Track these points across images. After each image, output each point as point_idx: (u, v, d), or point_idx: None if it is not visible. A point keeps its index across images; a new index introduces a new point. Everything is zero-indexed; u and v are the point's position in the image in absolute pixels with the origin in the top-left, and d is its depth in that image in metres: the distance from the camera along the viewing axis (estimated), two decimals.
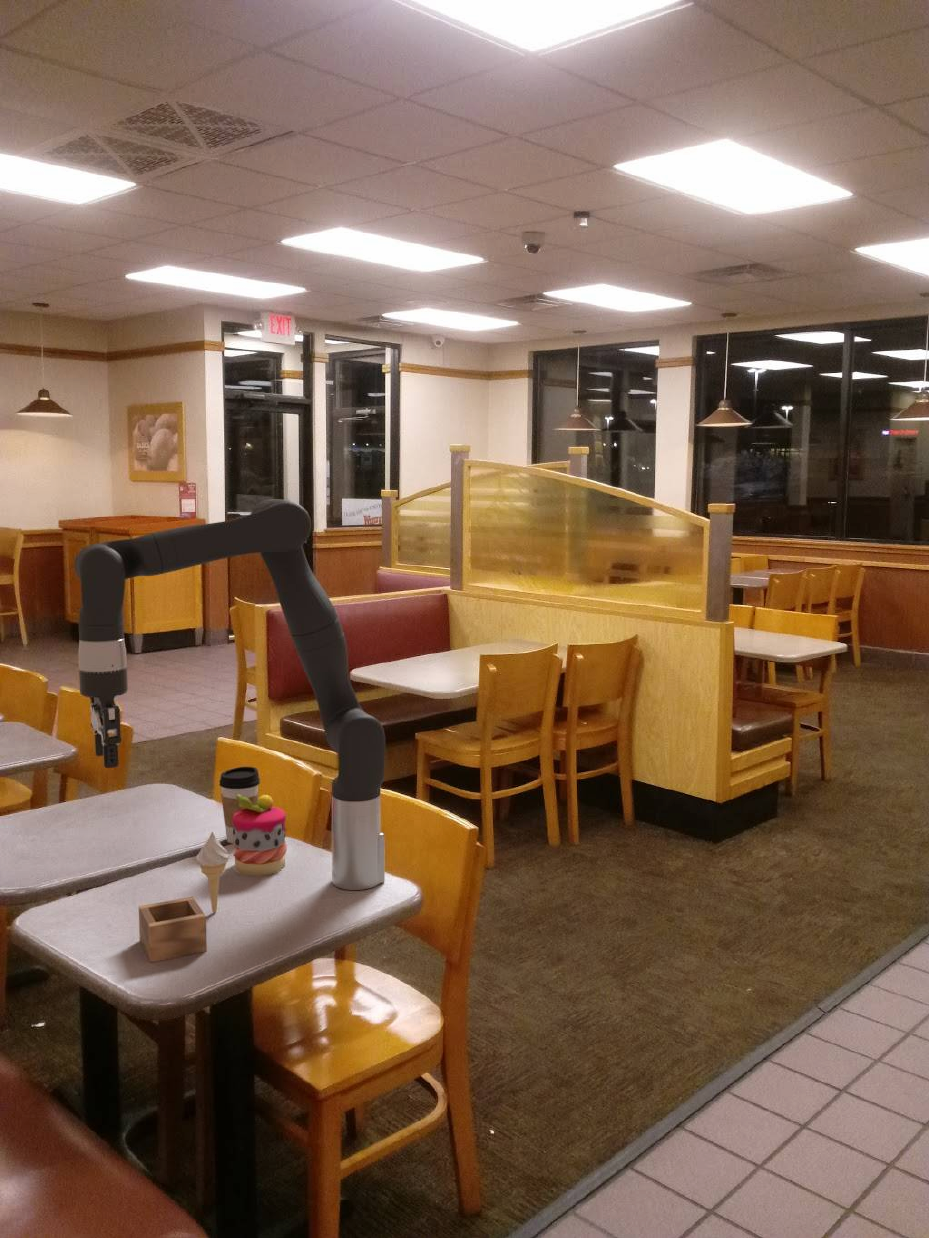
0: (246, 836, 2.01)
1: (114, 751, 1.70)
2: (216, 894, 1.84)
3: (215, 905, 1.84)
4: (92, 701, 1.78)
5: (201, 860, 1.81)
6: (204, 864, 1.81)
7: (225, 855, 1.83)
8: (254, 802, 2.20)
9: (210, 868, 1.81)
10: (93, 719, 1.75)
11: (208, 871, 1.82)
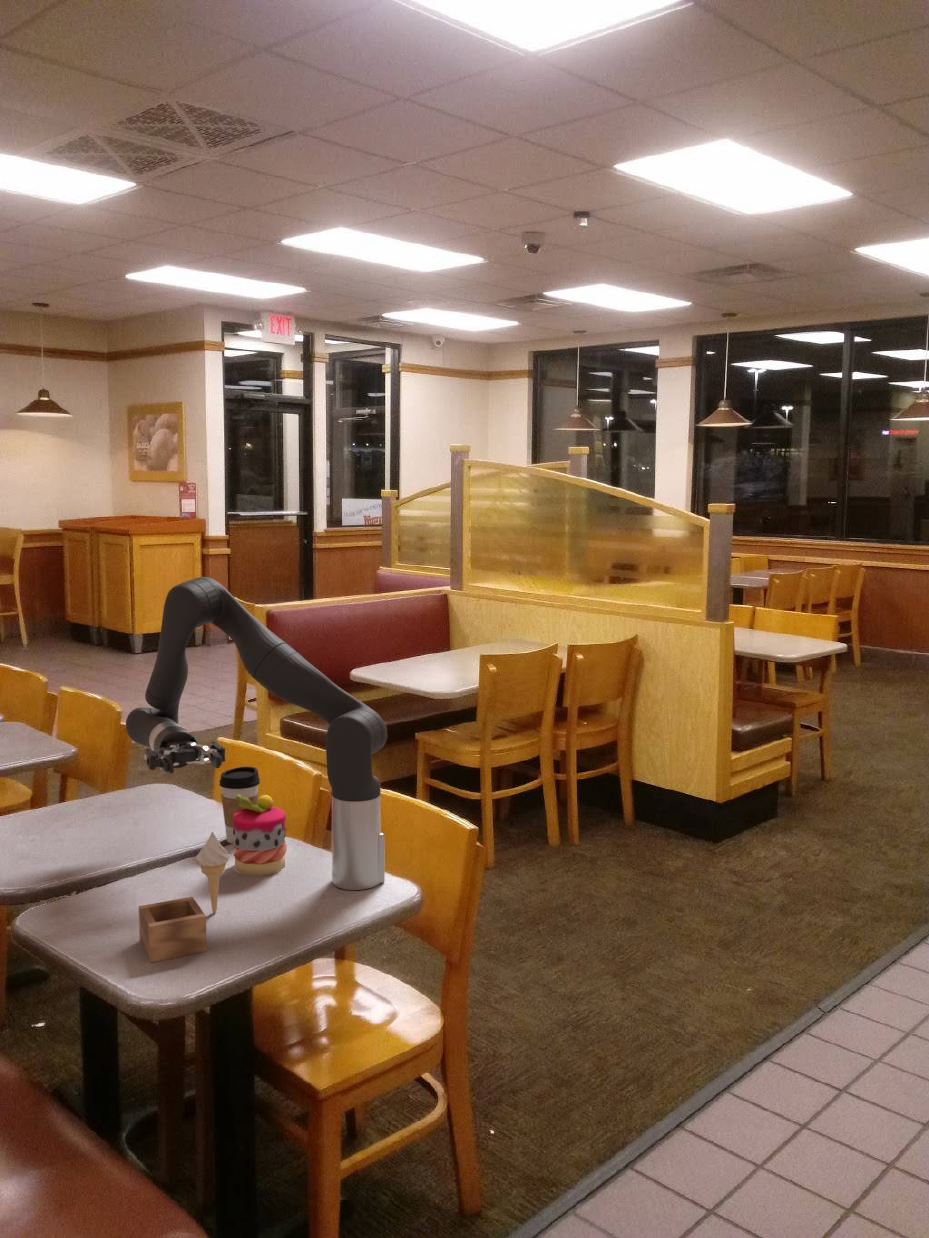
0: (246, 836, 2.01)
1: (162, 762, 1.90)
2: (216, 894, 1.84)
3: (215, 905, 1.84)
4: None
5: (201, 860, 1.81)
6: (204, 864, 1.81)
7: (225, 855, 1.83)
8: (254, 802, 2.20)
9: (210, 868, 1.81)
10: (196, 762, 1.98)
11: (208, 871, 1.82)
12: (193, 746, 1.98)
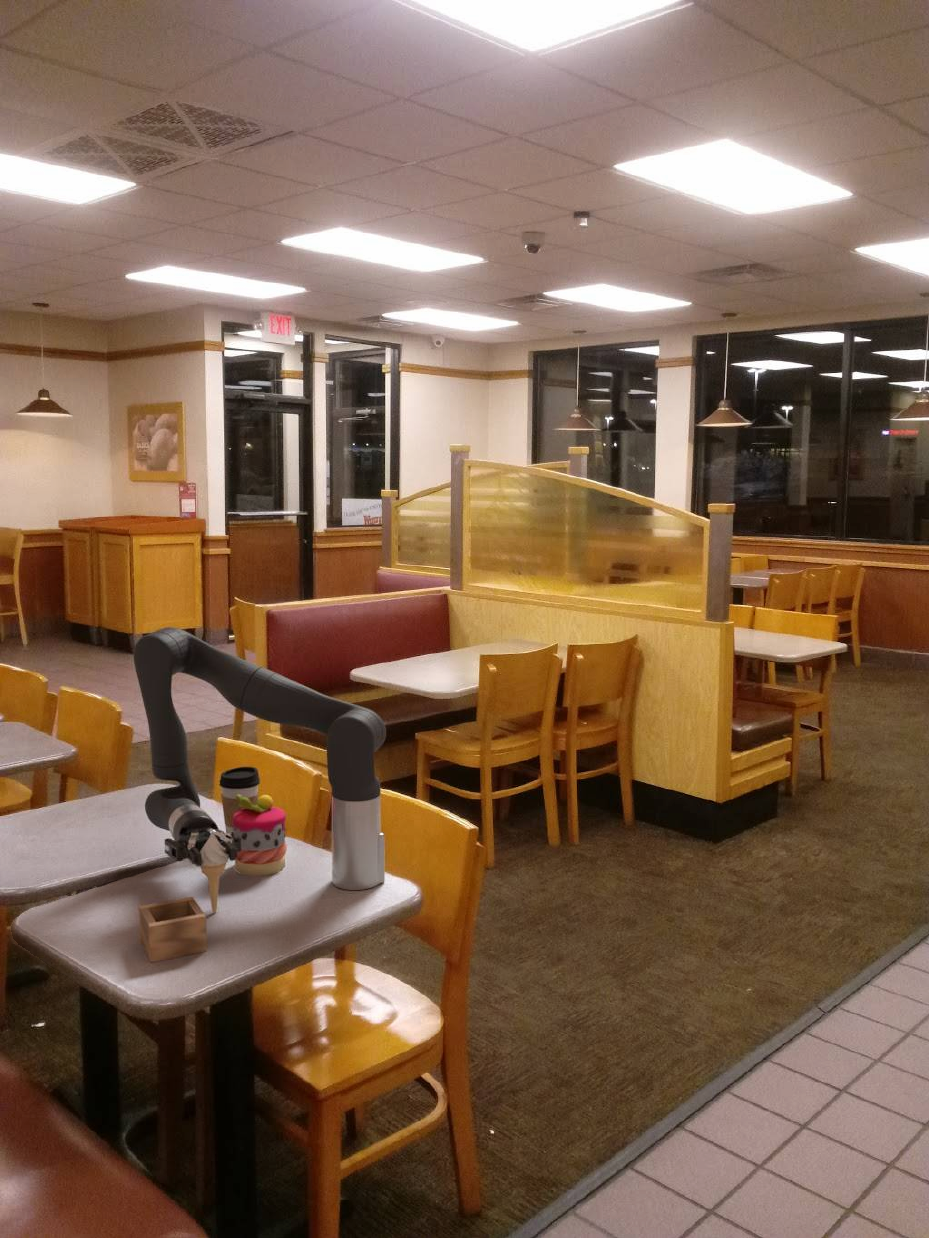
0: (246, 836, 2.01)
1: (189, 853, 1.82)
2: (216, 894, 1.84)
3: (215, 905, 1.84)
4: None
5: None
6: (204, 864, 1.81)
7: (225, 855, 1.83)
8: (254, 802, 2.20)
9: (210, 868, 1.81)
10: None
11: (208, 871, 1.82)
12: None
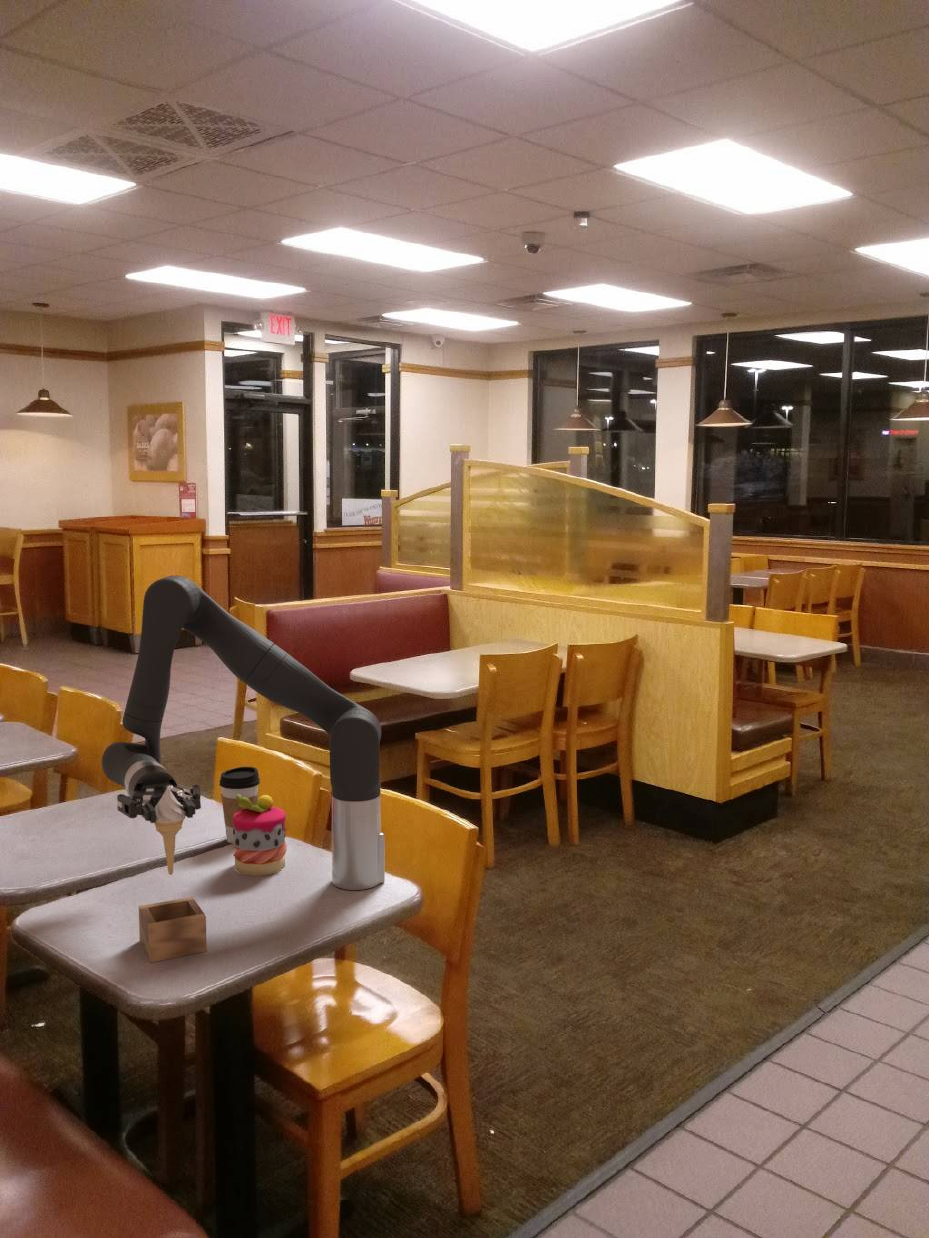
0: (246, 836, 2.01)
1: (143, 810, 1.67)
2: (172, 854, 1.69)
3: (171, 866, 1.70)
4: None
5: None
6: (158, 821, 1.66)
7: (182, 812, 1.68)
8: (254, 802, 2.20)
9: (165, 826, 1.67)
10: None
11: (163, 829, 1.67)
12: None
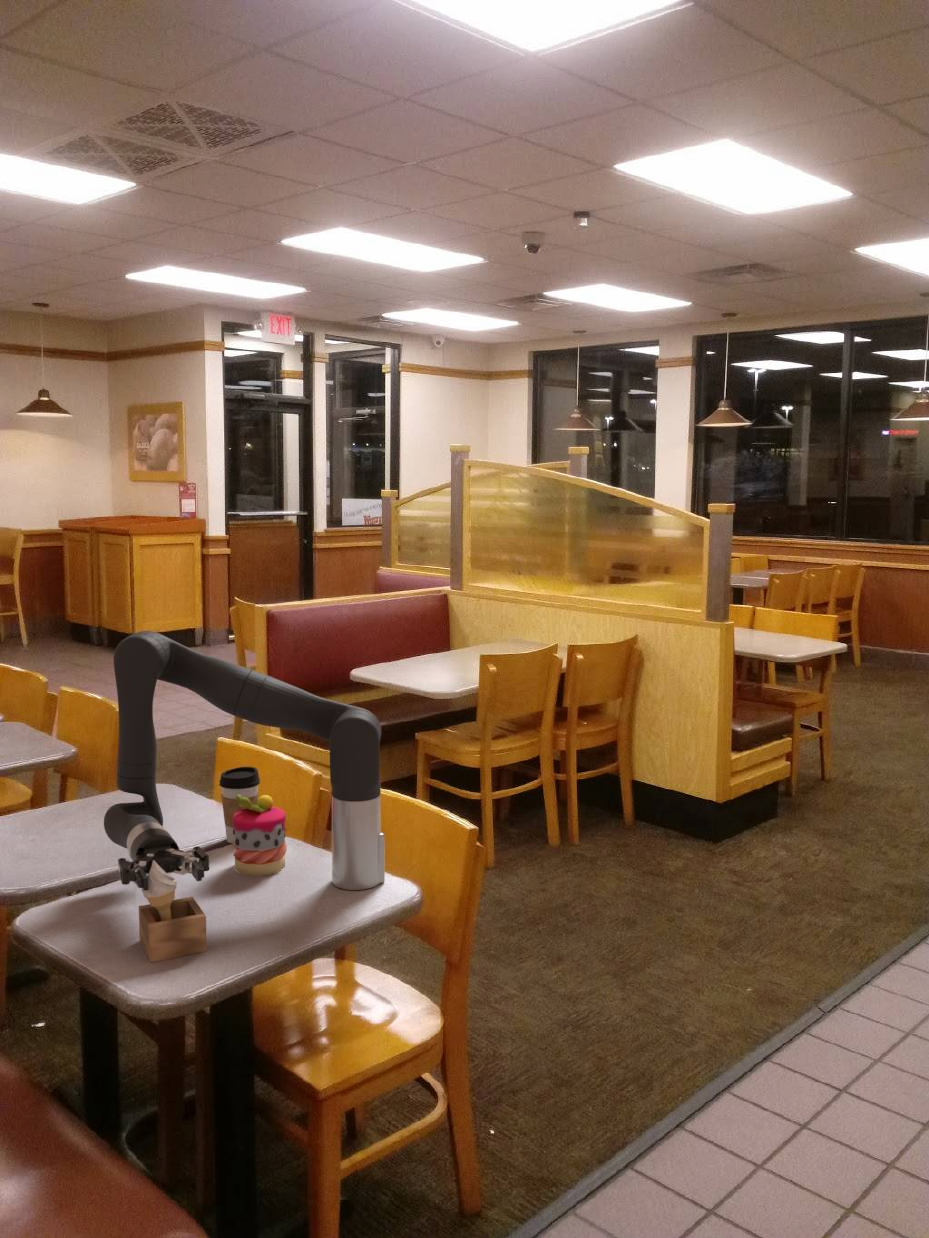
0: (246, 836, 2.01)
1: (135, 876, 1.68)
2: None
3: None
4: None
5: (146, 892, 1.68)
6: (149, 896, 1.68)
7: (171, 882, 1.69)
8: (254, 802, 2.20)
9: (157, 899, 1.68)
10: (177, 872, 1.76)
11: (156, 903, 1.68)
12: (173, 854, 1.75)
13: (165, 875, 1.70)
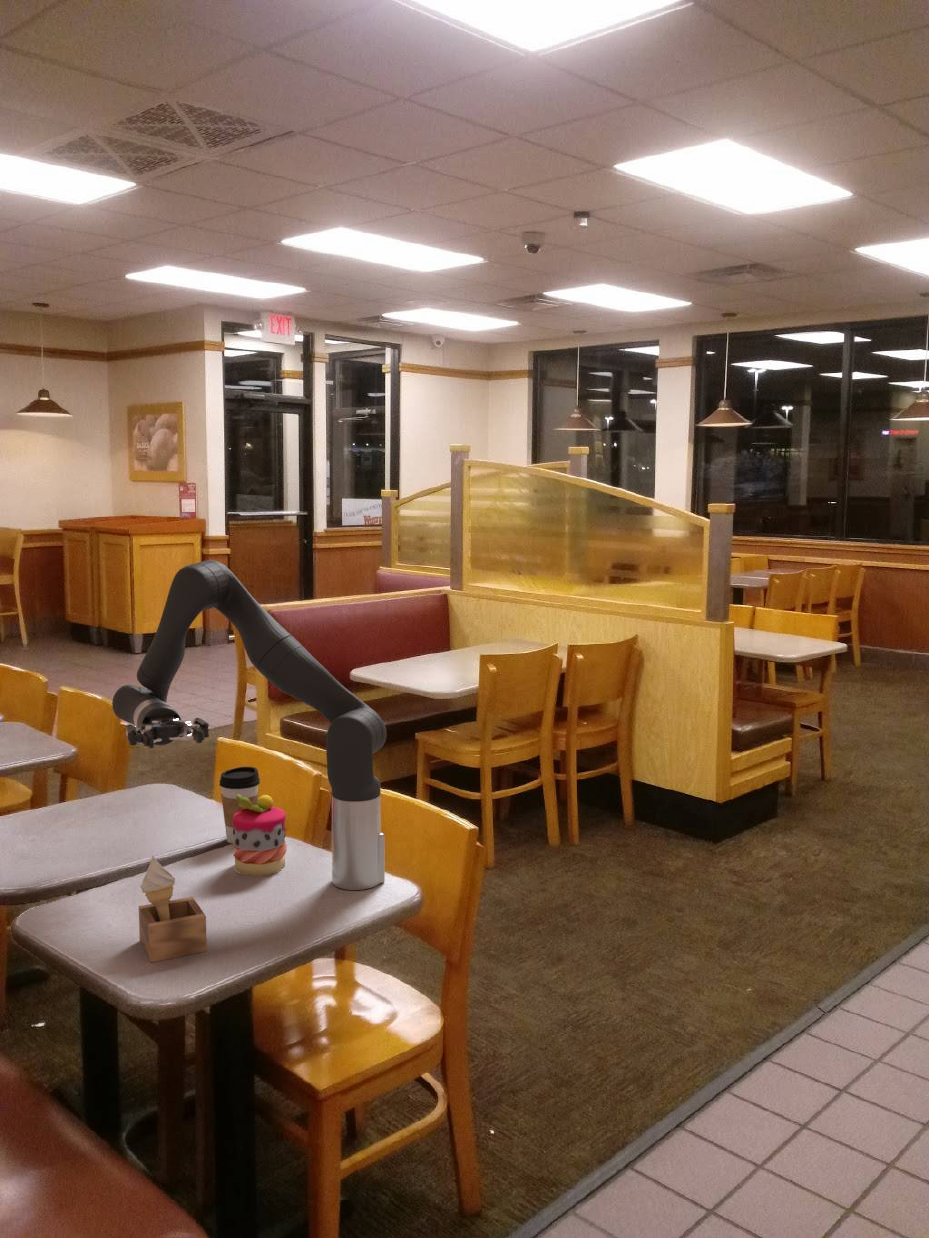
0: (246, 836, 2.01)
1: (142, 737, 1.86)
2: None
3: None
4: None
5: (145, 886, 1.70)
6: (148, 890, 1.70)
7: (170, 877, 1.72)
8: (254, 802, 2.20)
9: (156, 893, 1.70)
10: (179, 738, 1.93)
11: (154, 897, 1.70)
12: (176, 722, 1.93)
13: (164, 870, 1.72)
